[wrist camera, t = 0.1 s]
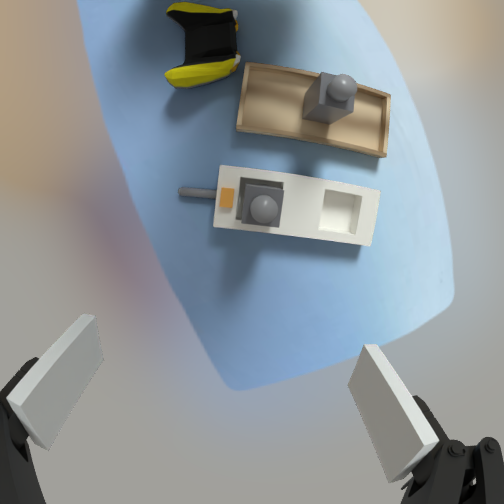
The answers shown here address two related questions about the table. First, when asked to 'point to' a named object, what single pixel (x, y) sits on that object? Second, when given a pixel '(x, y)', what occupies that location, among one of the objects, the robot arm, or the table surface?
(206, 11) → the gaming controller
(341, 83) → the plug
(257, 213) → the twin plug
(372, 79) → the table surface
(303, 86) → the tray
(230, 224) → the strip
